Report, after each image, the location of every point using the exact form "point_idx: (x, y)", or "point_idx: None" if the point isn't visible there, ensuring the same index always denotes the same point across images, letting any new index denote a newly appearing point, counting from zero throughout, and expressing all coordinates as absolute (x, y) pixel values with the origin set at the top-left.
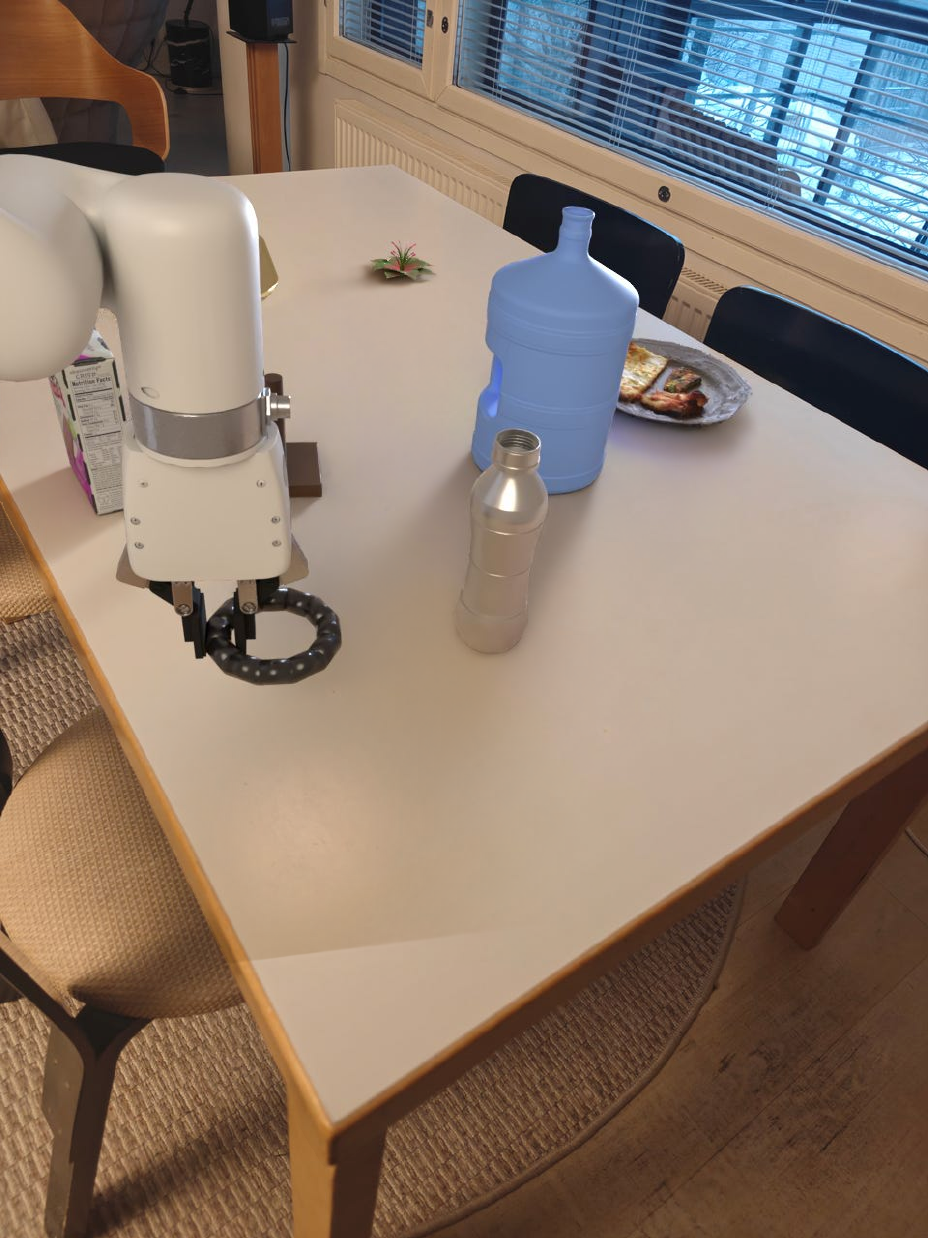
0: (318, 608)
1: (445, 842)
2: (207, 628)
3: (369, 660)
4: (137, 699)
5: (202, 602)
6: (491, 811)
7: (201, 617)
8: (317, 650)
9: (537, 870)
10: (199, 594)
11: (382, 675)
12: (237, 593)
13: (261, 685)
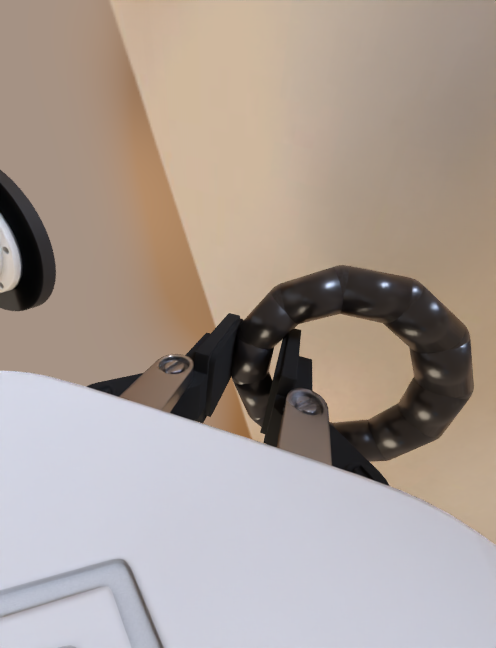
0: (444, 379)
1: (405, 460)
2: (235, 350)
3: (479, 250)
4: (201, 244)
5: (212, 385)
6: (463, 459)
7: (209, 415)
8: (384, 456)
9: (458, 501)
10: (203, 382)
11: (478, 283)
12: (273, 425)
13: None
